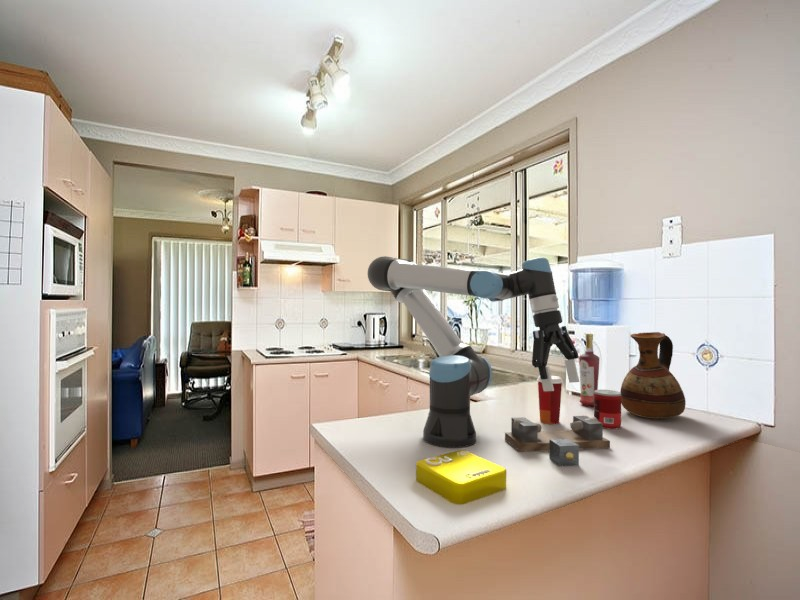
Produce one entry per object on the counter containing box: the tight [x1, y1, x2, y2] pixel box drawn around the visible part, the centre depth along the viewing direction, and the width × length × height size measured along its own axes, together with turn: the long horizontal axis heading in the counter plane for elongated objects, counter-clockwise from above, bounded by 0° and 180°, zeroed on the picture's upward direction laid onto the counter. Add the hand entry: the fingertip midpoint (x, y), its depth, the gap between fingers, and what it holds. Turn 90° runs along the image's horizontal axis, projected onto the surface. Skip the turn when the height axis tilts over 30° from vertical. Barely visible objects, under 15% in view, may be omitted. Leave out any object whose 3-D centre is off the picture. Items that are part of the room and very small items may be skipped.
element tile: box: [415, 449, 507, 505], centre depth 90 cm, size 15×15×5 cm
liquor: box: [578, 333, 600, 408], centre depth 162 cm, size 7×7×28 cm
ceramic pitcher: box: [619, 331, 687, 419], centre depth 148 cm, size 20×20×30 cm
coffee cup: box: [535, 375, 564, 425], centre depth 138 cm, size 8×8×15 cm
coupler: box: [548, 439, 580, 467], centre depth 103 cm, size 7×5×5 cm
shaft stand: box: [504, 415, 611, 453], centre depth 116 cm, size 26×10×7 cm, turn 98°
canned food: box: [593, 389, 622, 430], centre depth 135 cm, size 8×8×11 cm
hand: (562, 386), depth 115 cm, fingers open, 13 cm apart
